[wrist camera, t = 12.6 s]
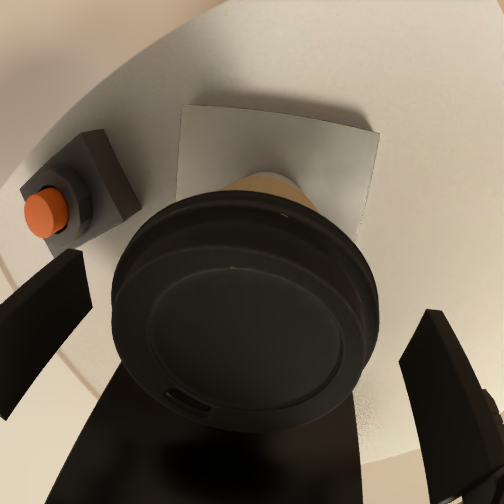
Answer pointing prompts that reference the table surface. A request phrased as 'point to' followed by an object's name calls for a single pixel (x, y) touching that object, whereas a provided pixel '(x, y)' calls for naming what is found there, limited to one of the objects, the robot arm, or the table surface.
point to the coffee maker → (206, 437)
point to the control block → (85, 190)
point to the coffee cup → (245, 308)
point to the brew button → (46, 212)
